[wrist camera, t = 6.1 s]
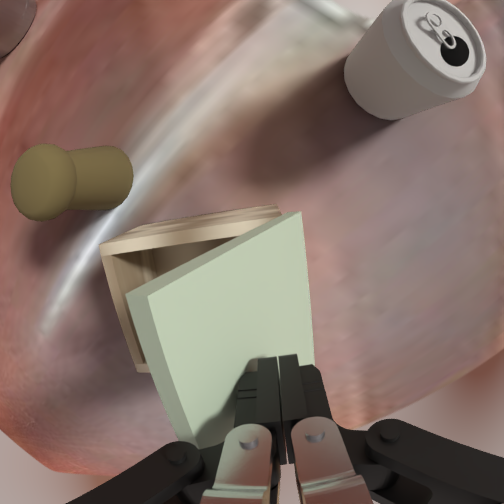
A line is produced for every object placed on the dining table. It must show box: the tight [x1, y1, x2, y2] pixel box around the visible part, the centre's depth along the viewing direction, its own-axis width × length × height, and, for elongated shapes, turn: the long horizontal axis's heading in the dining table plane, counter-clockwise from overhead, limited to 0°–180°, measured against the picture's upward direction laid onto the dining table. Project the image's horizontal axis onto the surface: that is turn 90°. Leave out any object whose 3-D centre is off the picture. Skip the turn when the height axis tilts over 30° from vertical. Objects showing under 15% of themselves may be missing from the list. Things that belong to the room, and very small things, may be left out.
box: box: [99, 204, 282, 373], centre depth 23 cm, size 12×10×8 cm
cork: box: [11, 144, 133, 222], centre depth 20 cm, size 6×6×11 cm
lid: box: [125, 211, 315, 449], centre depth 13 cm, size 12×10×1 cm
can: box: [344, 0, 486, 120], centre depth 16 cm, size 8×8×12 cm
